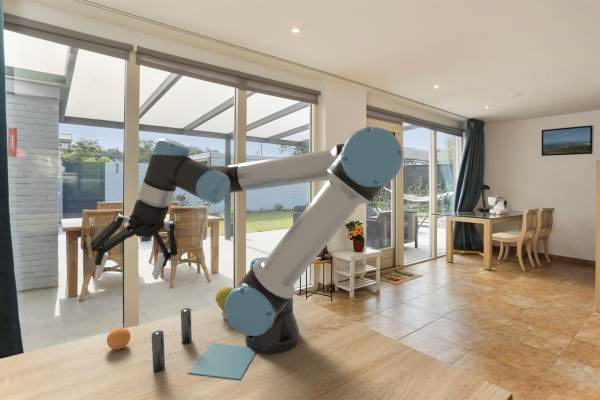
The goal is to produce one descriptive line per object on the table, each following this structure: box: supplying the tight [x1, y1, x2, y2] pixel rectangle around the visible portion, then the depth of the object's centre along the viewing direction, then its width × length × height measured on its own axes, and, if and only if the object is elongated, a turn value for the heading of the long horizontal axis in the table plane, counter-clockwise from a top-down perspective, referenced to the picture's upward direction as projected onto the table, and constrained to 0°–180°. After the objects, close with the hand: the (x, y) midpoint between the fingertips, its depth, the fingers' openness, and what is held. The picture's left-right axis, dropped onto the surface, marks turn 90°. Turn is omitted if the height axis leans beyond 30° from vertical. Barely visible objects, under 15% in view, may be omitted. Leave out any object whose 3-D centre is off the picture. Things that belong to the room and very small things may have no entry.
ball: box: [106, 327, 131, 350], centre depth 85 cm, size 6×6×6 cm
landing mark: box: [187, 342, 257, 381], centre depth 80 cm, size 13×13×1 cm
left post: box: [150, 330, 166, 374], centre depth 76 cm, size 3×3×9 cm
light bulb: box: [215, 286, 234, 320], centre depth 103 cm, size 7×7×10 cm
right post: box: [180, 307, 193, 345], centre depth 88 cm, size 3×3×9 cm
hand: (127, 276), depth 82 cm, fingers open, 13 cm apart
